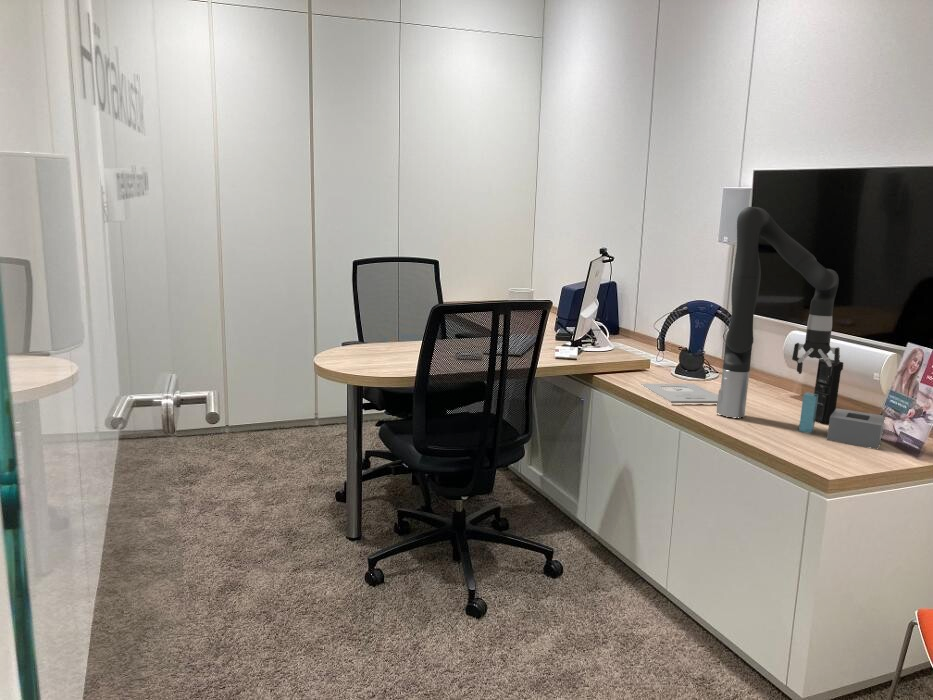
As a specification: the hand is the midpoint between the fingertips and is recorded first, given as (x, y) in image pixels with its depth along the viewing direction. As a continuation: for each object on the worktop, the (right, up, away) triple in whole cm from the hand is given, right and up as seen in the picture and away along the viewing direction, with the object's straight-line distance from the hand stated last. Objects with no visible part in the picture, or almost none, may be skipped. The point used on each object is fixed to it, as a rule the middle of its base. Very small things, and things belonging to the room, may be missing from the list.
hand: (813, 375), depth 250 cm
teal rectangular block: (-1, -19, +3) cm, 20 cm away
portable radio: (+11, -18, +18) cm, 27 cm away
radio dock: (+12, -21, -5) cm, 25 cm away
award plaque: (-31, -11, +48) cm, 58 cm away
